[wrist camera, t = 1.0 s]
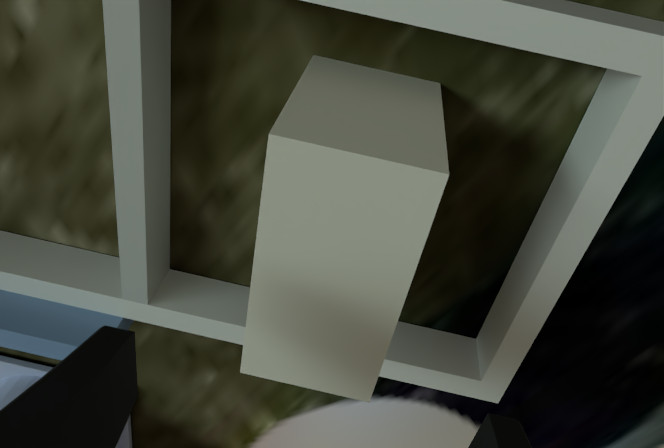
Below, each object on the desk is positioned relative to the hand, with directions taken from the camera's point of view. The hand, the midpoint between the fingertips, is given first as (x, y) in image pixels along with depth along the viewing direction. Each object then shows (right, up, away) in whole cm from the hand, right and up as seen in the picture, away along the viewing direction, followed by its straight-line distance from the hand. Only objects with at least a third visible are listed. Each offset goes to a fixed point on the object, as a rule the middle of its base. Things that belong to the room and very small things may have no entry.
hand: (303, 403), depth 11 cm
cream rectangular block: (+1, +5, +8) cm, 10 cm away
